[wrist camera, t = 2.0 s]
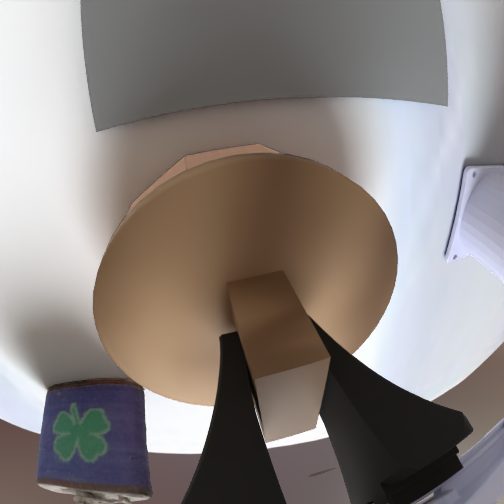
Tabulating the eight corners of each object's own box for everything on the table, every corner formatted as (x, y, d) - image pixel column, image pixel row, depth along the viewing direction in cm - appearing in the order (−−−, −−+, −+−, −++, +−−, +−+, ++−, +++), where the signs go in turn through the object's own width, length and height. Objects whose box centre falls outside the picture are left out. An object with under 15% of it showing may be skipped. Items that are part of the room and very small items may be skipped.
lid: (400, 140, 10) (503, 187, 6) (362, 354, 17) (399, 416, 13) (47, 200, 8) (-28, 294, 4) (157, 406, 15) (164, 482, 11)
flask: (57, 401, 18) (50, 511, 9) (39, 382, 17) (23, 500, 8) (150, 393, 20) (163, 523, 11) (135, 372, 18) (143, 519, 9)
